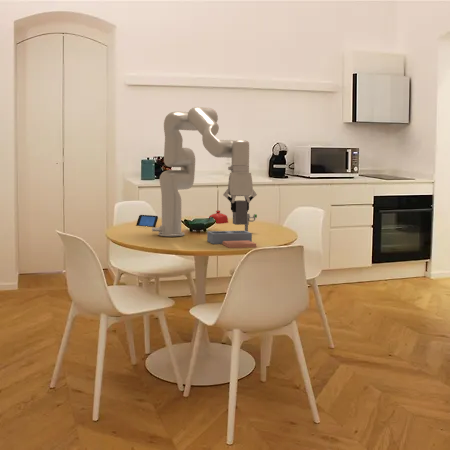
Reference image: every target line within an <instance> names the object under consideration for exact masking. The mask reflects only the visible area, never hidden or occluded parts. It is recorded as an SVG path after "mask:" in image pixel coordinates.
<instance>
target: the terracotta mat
mask: <svg viewBox="0 0 450 450" xmlns="http://www.w3.org/2000/svg"><path fill="white" fill-rule="evenodd" d="M222 246H225V247H227V248H229V249H240V248H245V249H246V248H257V242H253V241H252V242H251V241H249V240H247V241H223V244H222Z"/></svg>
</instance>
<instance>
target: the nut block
mask: <svg viewBox="0 0 450 450" xmlns="http://www.w3.org/2000/svg"><path fill="white" fill-rule="evenodd" d="M247 214H248V212H247V201H245V200H235V212H232V224H233V225H239V226H240V225H241V226H243V225H244V226H245V225H247Z"/></svg>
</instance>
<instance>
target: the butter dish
mask: <svg viewBox="0 0 450 450" xmlns="http://www.w3.org/2000/svg"><path fill="white" fill-rule="evenodd" d="M210 217H213V218H214V219H215V220H216V223H215V224H228V223H229V218H228V215H226V214H224V213H221V210H215V213H212V214H210V215H209V216H208V219H209V218H210Z"/></svg>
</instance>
